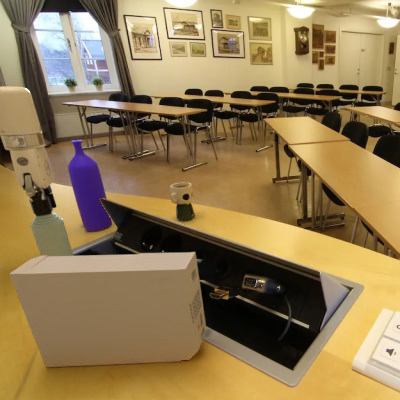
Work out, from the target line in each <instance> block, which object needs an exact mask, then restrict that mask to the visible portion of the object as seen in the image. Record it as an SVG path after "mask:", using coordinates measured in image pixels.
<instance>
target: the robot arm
mask: <svg viewBox="0 0 400 400" xmlns="http://www.w3.org/2000/svg"><path fill="white" fill-rule="evenodd" d="M0 139H1V142H2V144H3V145H2V146H3V147H4V149H5V150H6V151H9V153H10V158H11V162H12V166H13V170H14V173H15V176H16V180H17V182H18V185H19V188H20V189H21V190H22V191H25V194H26V196H27V197H29V199H30V201H31V203H32V206H33V209H34V212H35V214H34V216H35V217H36V216H41V215H49V214H51V213H53V210H52V211H51V208H50V204H49V201H48V199H46V197H45V196H49V199H50V202H51V205H52V208H53V209H55V208H57V203H56V200H55V196H54V193H53V189H52V187H51V184H53V182H54V181H55V180H56V173H55V172H54V168H53V165H52V163H51V160H50V157H49V154H48V152H47V150H46V148H45V147H46V146H47V143H46V140H45V135H44V134H43V130H42V127H41V122H40V120H39V116H38V113H37V109H36V106H35V103H34V100H33V96H32V93H31V91H30V90H29V89H28V88H26V87H25V86H24V87H23V86H16V85H15V86H11V85H10V86H7V85H5V86H4V85H3V86H0ZM30 201H29V202H30Z"/></svg>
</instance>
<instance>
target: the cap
mask: <svg viewBox="0 0 400 400" xmlns="http://www.w3.org/2000/svg"><path fill="white" fill-rule="evenodd" d="M45 197H46V199H48V201H49V204H50V208H51V211H52V212H53V210H54V208H52V205H51V202H50V199H49V196H45ZM28 200H29V204H30V207H31V210H32V213H33V215H35V212H34V209H33V206H32V203H31V201H30V198H29V199H28Z"/></svg>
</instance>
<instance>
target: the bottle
mask: <svg viewBox="0 0 400 400" xmlns="http://www.w3.org/2000/svg"><path fill="white" fill-rule="evenodd" d="M70 143H71V144H72V145H73V148H74V155H73V157H72V158H71V160H70V161H69V163H68V166H67V170H68V175H69V179H70V183H71V187H72V190H73V191H72V192H73V194H74V198H75V202H76V205H77V209H78V212H79V213H78V214H79V216H80V219H81V223H82V225H83V228H84V230H85V231H86V232H89V231H95V232H100V231H99V230H101V231H104V230H106V228H107V229H109V228H110V227H111V226H112V217H111V218H110V217H109V215H108V213H107V212H106V210H105V209H104V207H103V206H102V204H101V202H100V200H99V199H100V198H105V199H107V194H106V190H105V187H104V183H103V179H102V175H101V171H100V167H99V165H98V163H97V162H96V161H95V160H94V159H93V158H92V157H90V156H89V155H87V154H86V153H85V152H84V150H83V145H82V143H84V142H83V139H75V140H74V139H73V140H70ZM107 200H108V199H107ZM109 226H110V227H109ZM108 227H109V228H108ZM103 229H104V230H103Z"/></svg>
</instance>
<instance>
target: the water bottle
mask: <svg viewBox="0 0 400 400" xmlns="http://www.w3.org/2000/svg"><path fill="white" fill-rule="evenodd" d="M30 229H31V233H32V234H33V238H34V241H35V243H36V247H37V249H38V251H39V256H44V255H48V256H75V255H74V252H73V249H72V245H71V242H70V239H69V236H68V232H67V229H66V226H65V222H64V219H63V218H62V217H61V216H60V215H58V214H56V213H55V212H52V213H51V214H49V215H41V216H36V215H35V216H34V218H33V219H32V222H30Z"/></svg>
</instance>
